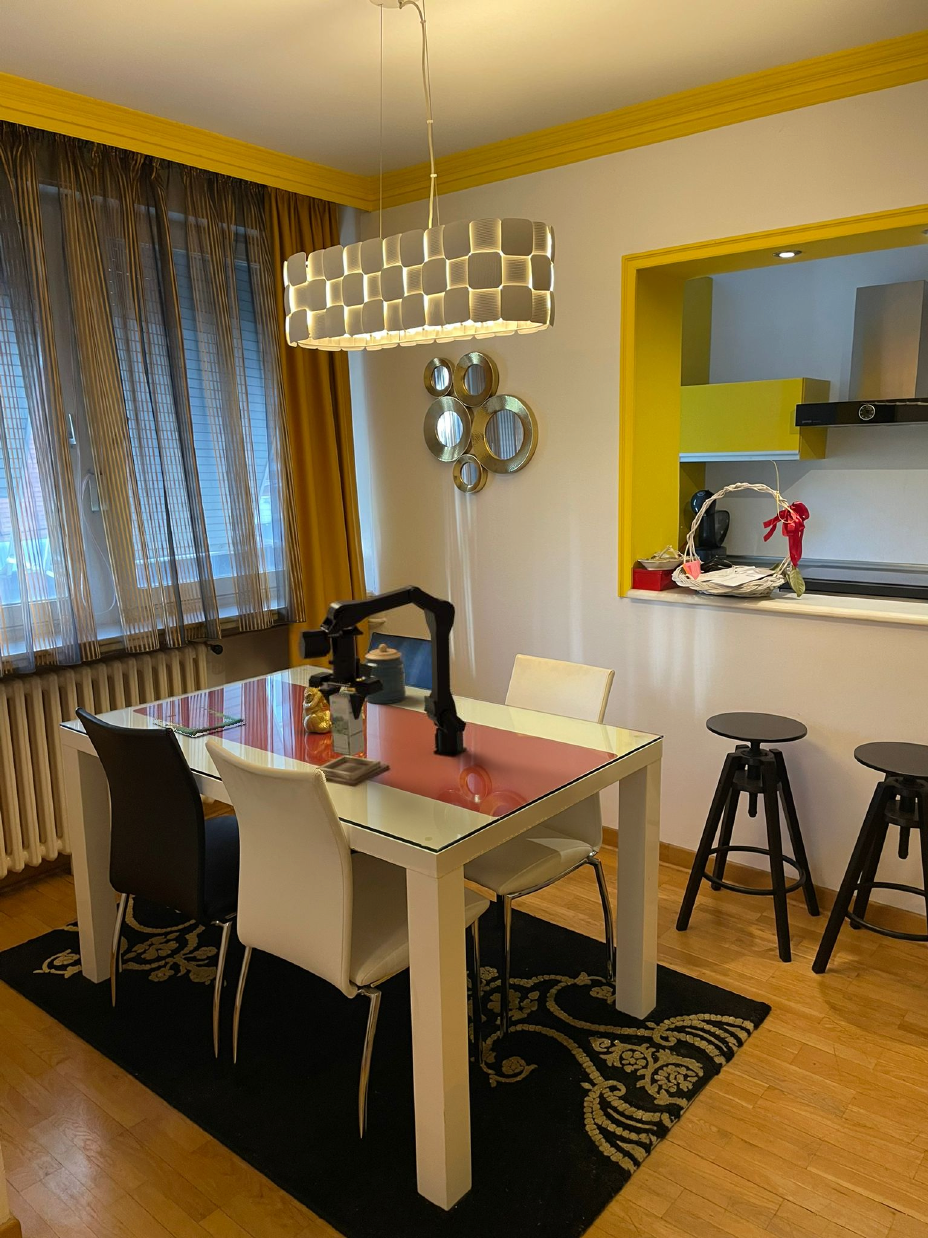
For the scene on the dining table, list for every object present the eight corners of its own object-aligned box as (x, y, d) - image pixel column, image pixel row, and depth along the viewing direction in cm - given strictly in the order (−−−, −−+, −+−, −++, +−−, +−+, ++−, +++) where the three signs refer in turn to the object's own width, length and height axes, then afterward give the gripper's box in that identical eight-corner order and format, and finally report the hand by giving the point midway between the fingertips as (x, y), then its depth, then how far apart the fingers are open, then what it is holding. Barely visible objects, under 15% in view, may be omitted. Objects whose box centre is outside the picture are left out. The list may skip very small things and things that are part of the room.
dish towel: (193, 741, 253) (192, 732, 252) (151, 725, 269) (150, 717, 268) (246, 726, 265) (245, 718, 265) (203, 712, 281) (202, 704, 281)
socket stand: (389, 768, 224) (389, 760, 224) (354, 786, 212) (353, 778, 212) (343, 759, 231) (343, 752, 231) (307, 777, 219) (307, 769, 219)
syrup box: (365, 750, 224) (362, 692, 221) (350, 757, 219) (347, 698, 216) (347, 746, 227) (344, 689, 224) (331, 753, 222) (328, 695, 219)
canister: (390, 691, 297) (388, 638, 294) (414, 698, 287) (412, 643, 284) (356, 699, 289) (353, 644, 286) (380, 707, 279) (377, 650, 276)
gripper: (395, 651, 220) (397, 714, 223) (335, 645, 230) (338, 705, 233) (366, 660, 211) (369, 726, 214) (305, 653, 221) (308, 716, 224)
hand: (346, 717), depth 221 cm, fingers closed on syrup box, 6 cm apart
